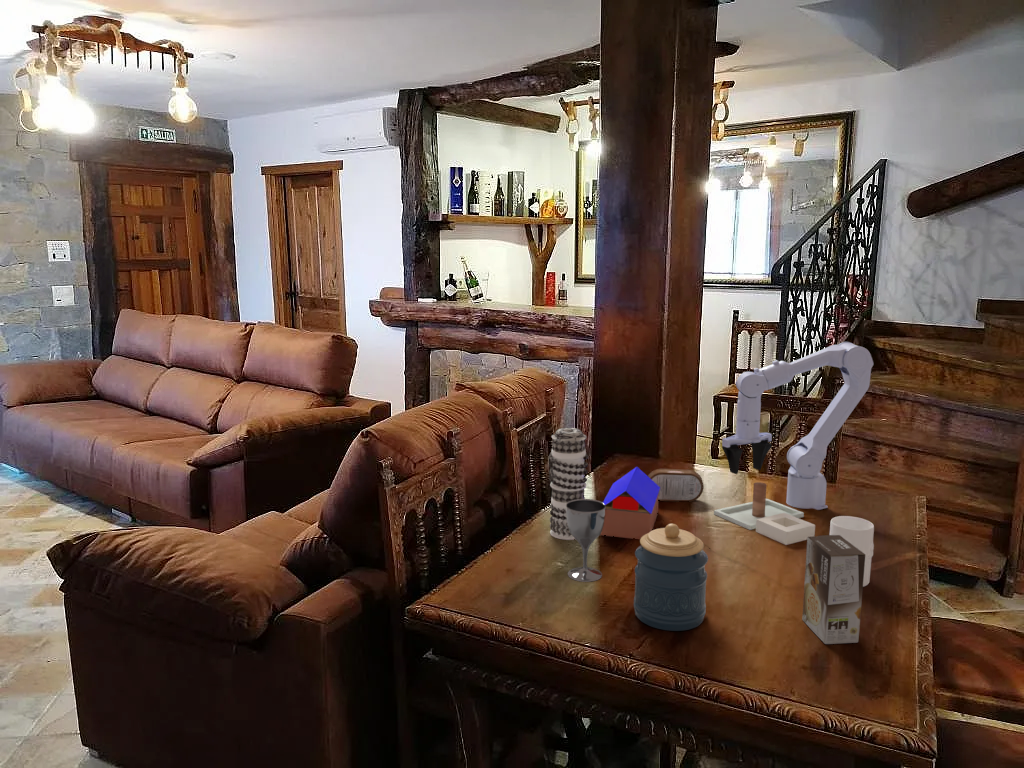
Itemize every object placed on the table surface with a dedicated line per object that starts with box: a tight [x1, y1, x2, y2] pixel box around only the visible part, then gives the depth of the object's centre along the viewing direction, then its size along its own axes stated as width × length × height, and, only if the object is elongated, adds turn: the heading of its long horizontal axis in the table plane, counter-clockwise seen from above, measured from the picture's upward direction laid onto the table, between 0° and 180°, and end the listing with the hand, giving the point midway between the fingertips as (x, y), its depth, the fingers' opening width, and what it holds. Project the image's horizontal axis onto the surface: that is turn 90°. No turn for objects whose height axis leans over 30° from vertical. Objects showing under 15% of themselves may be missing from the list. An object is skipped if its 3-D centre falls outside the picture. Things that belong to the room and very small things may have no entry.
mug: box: [829, 515, 875, 588], centre depth 155 cm, size 8×12×12 cm
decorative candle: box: [548, 427, 590, 541], centre depth 177 cm, size 9×9×25 cm
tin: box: [647, 468, 705, 503], centre depth 201 cm, size 15×3×8 cm, turn 84°
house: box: [600, 466, 660, 540], centre depth 185 cm, size 12×20×12 cm, turn 163°
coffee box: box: [802, 534, 865, 645], centre depth 132 cm, size 9×6×16 cm
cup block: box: [755, 513, 816, 546], centre depth 175 cm, size 9×9×4 cm
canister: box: [633, 523, 709, 632], centre depth 138 cm, size 13×13×18 cm
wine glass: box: [566, 498, 605, 583], centre depth 156 cm, size 8×8×15 cm
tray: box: [713, 498, 805, 531], centre depth 188 cm, size 18×12×2 cm, turn 118°
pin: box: [752, 481, 768, 517], centre depth 187 cm, size 3×3×8 cm
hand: (745, 470), depth 196 cm, fingers open, 7 cm apart
